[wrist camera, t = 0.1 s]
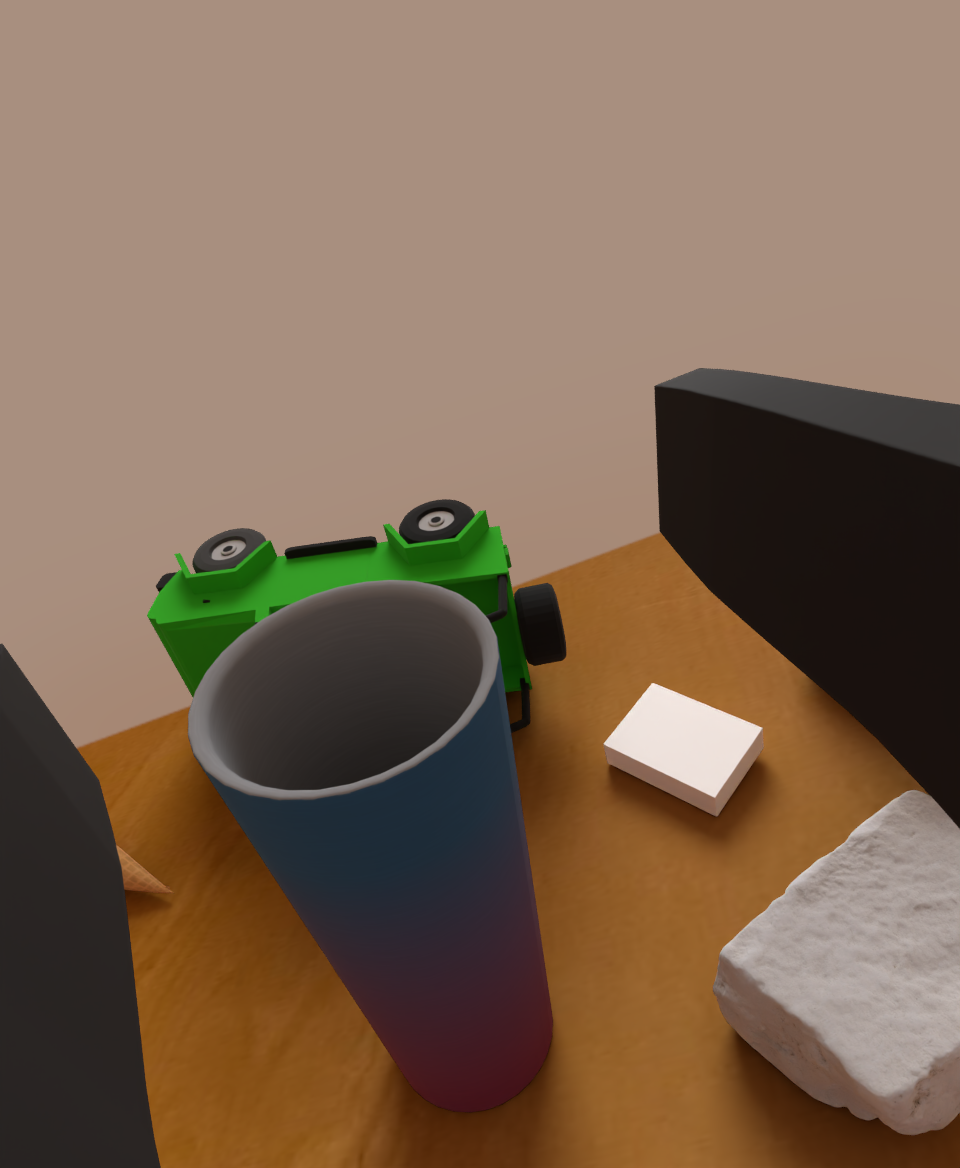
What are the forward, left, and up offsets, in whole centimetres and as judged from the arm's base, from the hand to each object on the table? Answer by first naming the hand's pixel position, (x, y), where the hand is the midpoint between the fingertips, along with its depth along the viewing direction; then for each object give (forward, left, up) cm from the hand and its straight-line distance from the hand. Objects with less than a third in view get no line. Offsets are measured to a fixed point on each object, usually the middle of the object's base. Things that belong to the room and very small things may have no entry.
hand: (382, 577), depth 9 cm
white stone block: (+1, -11, -23) cm, 25 cm away
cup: (+7, 0, -22) cm, 23 cm away
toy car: (+26, -5, -17) cm, 32 cm away
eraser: (+10, -10, -20) cm, 24 cm away
